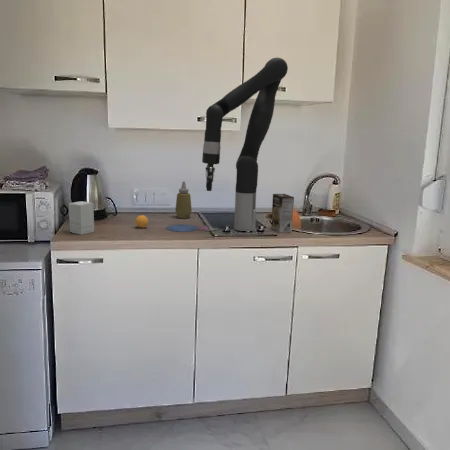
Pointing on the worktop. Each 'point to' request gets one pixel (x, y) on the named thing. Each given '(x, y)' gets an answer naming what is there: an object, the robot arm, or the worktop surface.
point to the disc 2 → (203, 228)
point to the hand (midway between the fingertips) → (208, 189)
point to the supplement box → (81, 217)
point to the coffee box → (282, 212)
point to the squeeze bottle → (183, 203)
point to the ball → (141, 221)
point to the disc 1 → (182, 228)
